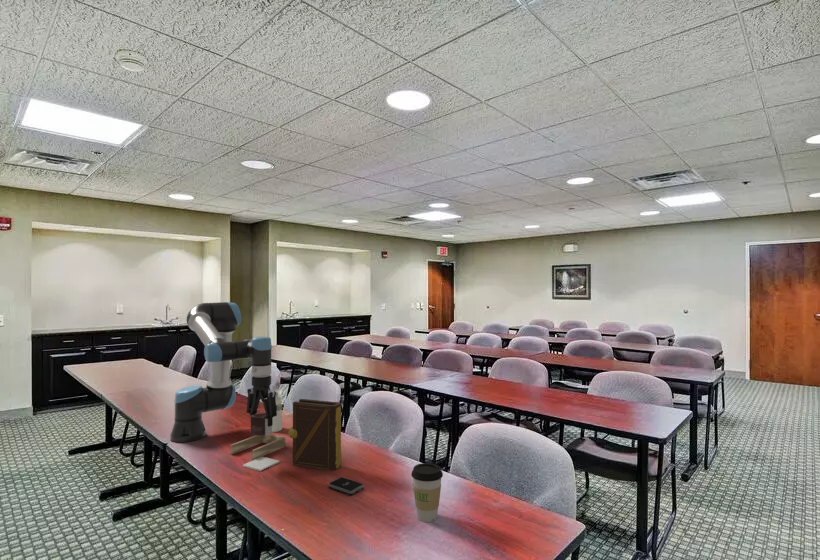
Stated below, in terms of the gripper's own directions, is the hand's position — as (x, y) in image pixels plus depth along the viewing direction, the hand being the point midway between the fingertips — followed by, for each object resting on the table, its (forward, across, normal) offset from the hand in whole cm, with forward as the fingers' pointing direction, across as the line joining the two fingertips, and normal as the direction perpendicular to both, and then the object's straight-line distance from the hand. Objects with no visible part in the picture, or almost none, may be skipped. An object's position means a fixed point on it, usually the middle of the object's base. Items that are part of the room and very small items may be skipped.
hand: (261, 432), depth 180 cm
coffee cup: (+13, +77, -5) cm, 78 cm away
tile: (+13, 0, 0) cm, 13 cm away
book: (+13, +19, +10) cm, 25 cm away
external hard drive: (+13, +43, -1) cm, 45 cm away
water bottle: (+13, -28, +35) cm, 47 cm away
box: (+1, 0, 0) cm, 1 cm away
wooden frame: (+13, -13, +10) cm, 21 cm away
